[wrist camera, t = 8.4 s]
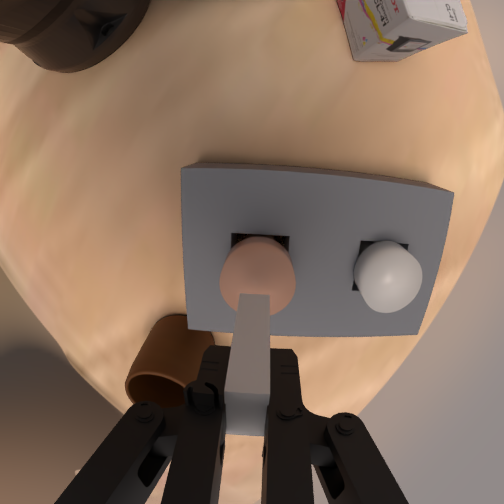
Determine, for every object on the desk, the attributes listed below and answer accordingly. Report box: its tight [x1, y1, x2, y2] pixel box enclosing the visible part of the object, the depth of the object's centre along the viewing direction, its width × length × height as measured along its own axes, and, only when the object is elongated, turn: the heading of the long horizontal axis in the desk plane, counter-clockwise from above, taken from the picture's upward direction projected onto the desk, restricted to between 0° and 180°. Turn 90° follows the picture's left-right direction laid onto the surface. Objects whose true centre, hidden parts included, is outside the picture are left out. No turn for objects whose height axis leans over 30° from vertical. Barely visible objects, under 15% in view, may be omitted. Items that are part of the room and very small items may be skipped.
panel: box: [181, 163, 454, 337], centre depth 25 cm, size 14×22×5 cm, turn 88°
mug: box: [125, 315, 214, 408], centre depth 28 cm, size 12×8×9 cm, turn 72°
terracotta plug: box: [219, 234, 296, 315], centre depth 23 cm, size 5×5×8 cm
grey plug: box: [354, 240, 422, 313], centre depth 24 cm, size 5×5×8 cm
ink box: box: [337, 0, 468, 62], centre depth 14 cm, size 9×5×12 cm, turn 10°
